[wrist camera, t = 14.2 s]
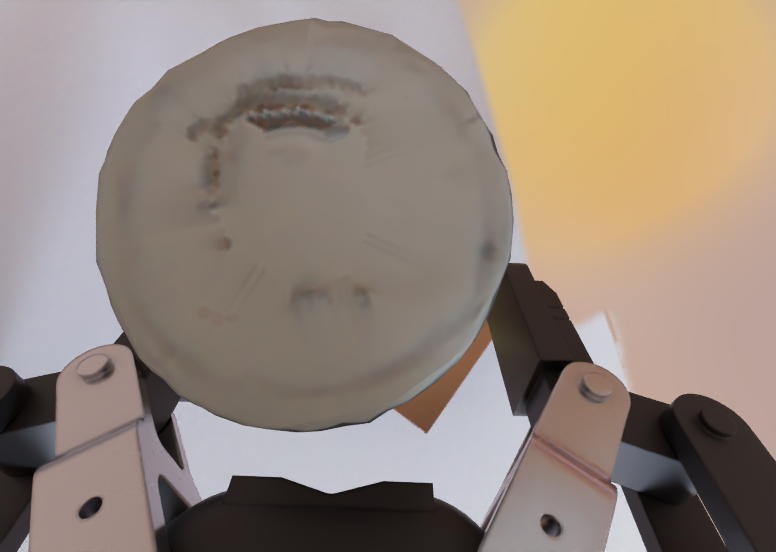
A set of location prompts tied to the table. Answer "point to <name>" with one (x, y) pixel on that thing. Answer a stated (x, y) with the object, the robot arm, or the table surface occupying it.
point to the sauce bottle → (303, 225)
